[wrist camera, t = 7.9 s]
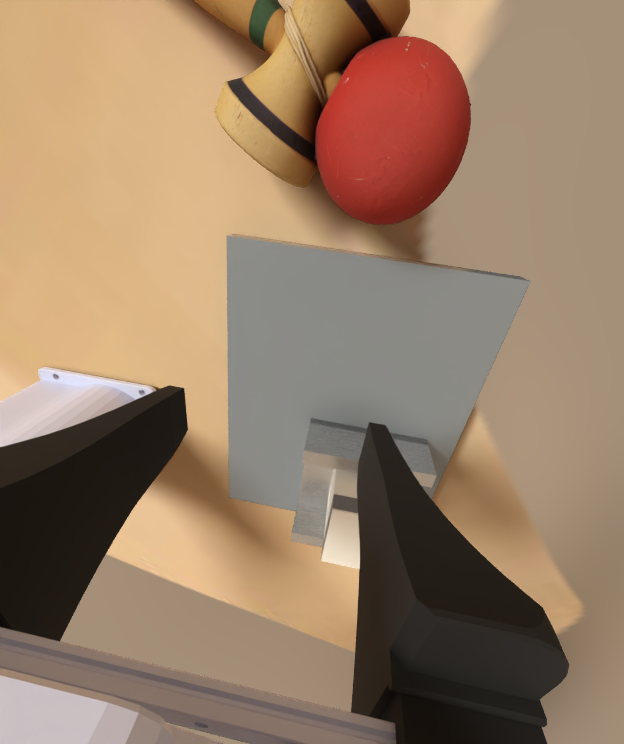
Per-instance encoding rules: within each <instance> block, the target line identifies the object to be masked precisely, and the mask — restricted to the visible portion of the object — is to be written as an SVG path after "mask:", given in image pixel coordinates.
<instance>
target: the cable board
mask: <svg viewBox="0 0 624 744" xmlns="http://www.w3.org/2000/svg"><path fill="white" fill-rule="evenodd" d="M529 284H530V281H529V280H527V279H525V278H522V277H520V276H513V275H506V274H499V273H493V272H486V271H480V270H473V269H466V268H460V267H453V266H446V265H439V264H433V263H426V262H419V261H413V260H406V259H399V258H392V257H386V256H379V255H372V254H366V253H359V252H352V251H345V250H339V249H332V248H325V247H319V246H312V245H305V244H298V243H292V242H285V241H278V240H272V239H265V238H258V237H251V236H245V235H238V234H232V235H228V236H227V320H228V425H229V498H233V499H238V500H243V501H248V502H252V503H257V504H262V505H267V506H272V507H277V508H282V509H287V510H292V511H296V510H297V506H298V501H299V494H300V487H301V481H302V474H303V467H304V463H302V459H303V452H304V447H305V443H306V438H307V434H308V430H309V426H310V421H311V418H314V419H319V420H325V421H330V422H335V423H341V424H346V425H352V426H357V427H362V428H368V424H369V422H371V423H376V424H382V425H386V427H387V428H388V430H389V432H390V433H395V434H400V435H406V436H411V437H417V438H422V439H427V443H428V446H429V450H430V453H431V457H432V460H433V464H434V467H435V471H436V474H437V477H436V479H435V481H434V484H433V486H432V488H431V487H426V486H422V487H423V489H424V490H425V492H426V493H427V494H428V496H429V497H430V498H431V499H432V497H433V495H434V493H435V491H436V488H437V486H438V484H439V482H440V480H441V477H442V475H443V473H444V471H445V469H446V466H447V464H448V462H449V460H450V458H451V455H452V453H453V451H454V449H455V447H456V444H457V442H458V440H459V438H460V436H461V433H462V431H463V429H464V427H465V424H466V422H467V420H468V418H469V416H470V413H471V411H472V409H473V407H474V405H475V402H476V400H477V398H478V396H479V393H480V391H481V389H482V387H483V385H484V382H485V380H486V378H487V376H488V374H489V371H490V369H491V367H492V365H493V363H494V361H495V358H496V356H497V354H498V352H499V349H500V347H501V345H502V343H503V341H504V339H505V336H506V334H507V332H508V330H509V327H510V325H511V323H512V321H513V319H514V317H515V314H516V312H517V310H518V307H519V306H520V303H521V301H522V299H523V297H524V294H525V292H526V290H527V288H528V286H529Z"/></svg>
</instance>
